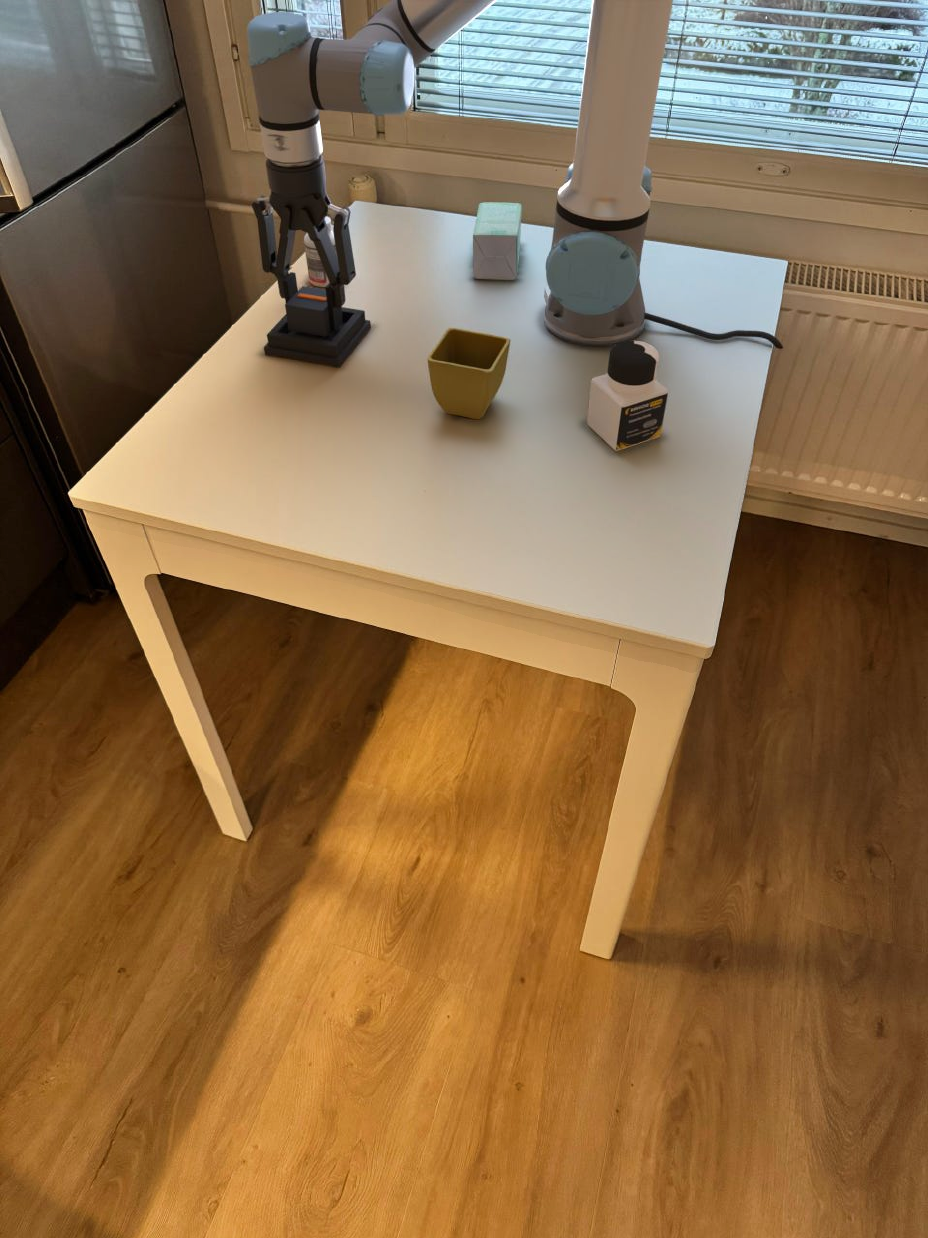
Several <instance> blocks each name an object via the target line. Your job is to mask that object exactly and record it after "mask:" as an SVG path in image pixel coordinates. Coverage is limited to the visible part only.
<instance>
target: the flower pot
mask: <svg viewBox="0 0 928 1238" xmlns="http://www.w3.org/2000/svg"><path fill="white" fill-rule="evenodd" d="M510 347H511V338H509V337H506V336H500V335H496V334H490V333H485V332H480V331H474V330H473V331H472V330H468V329H463V328H458V327H457V328H456V327H448V328H446V330H445V332H444V333H443V335H442V336H441V338H440V339H439V340H438V341H437V344H436V345H435V346H434V348H433V349H432V350H431V352H430V353H429V354H428V356H427V358H426V361H427V367H428V374H429V379H430V386H431V390H432V393H433V396H434V399H435V400H436V402H437V404H438V405H439V407H440V408H441V409H442V410H443V411H444V412H445V413H446V414H449V415H454V416H460V417H465V418H468V419H475V420H481V419H483V417H484V415H485V414H486V413H487V410H488V409H489V407H490V405H491V403H492V402H493V400H494V398H495V396H496V395H497V393H498V391H499V390H500V387H501V385H502V383H503V380H504V378H505V374H506V369H507V363H508V357H509V353H510V352H509V351H510Z"/></svg>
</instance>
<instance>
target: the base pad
mask: <svg viewBox="0 0 928 1238" xmlns="http://www.w3.org/2000/svg"><path fill="white" fill-rule="evenodd" d="M342 321H343V322H342V323H341V324H340V325H339V327H338V328H337V329H336V330H331V331H330V333H329V334H328V335H327V336H326V337H325V336H320V335H314V334H308V333H303V332H297V331H291V330H289V329H288V322H287V315H286V313H285V314H284V315H283V317H281V318H280V319H279V321H278V322H277V323H276V324H275V325H274V326H273V327H272V328H271V329H270V330H269V331H268V333H266V339H267V343H266V344H265V345H264V346H263V351H264V355H267V356H273V357H278V358H283V359H289V360H294V361H300V362H305V363H310V364H311V363H312V364H317V365H323V366H329V367H334V368H340V367H342V365H343V364H344V362H345V361H346V360H347V359H348V357H350V355H351V354H352V353H353V351H354V350H355V348H356V347H357V346H358V345H359V344H360V342H361V341H362V340H363V338H364V337H365V336H366V334H368V332H369V331H370V330H371V328H372V325H371V320H369V319H366V311H365V310H363V309H356V308H351V307H345V306H342Z"/></svg>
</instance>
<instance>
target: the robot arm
mask: <svg viewBox="0 0 928 1238" xmlns="http://www.w3.org/2000/svg"><path fill="white" fill-rule="evenodd" d="M497 1H498V0H390V1H389V2H388V3H387V4H386V5H384V6H382V7H380V8H379V9H377V11H375V13H373V14H372V16H370V18H369V19H367V20H368V21H367V22H366V23H365V25H363V26H362V27H361V28H360V29H359V30H358V31H357V32H356V33H355V35H353V36H352V37H351V38H349V39H341V38H338V39H337V38H325V37H324V38H323V37H317V36H313V35H312V34H313V33H312V30H311V28H310V23H309V20H308V19H307V17H306V16H304V15H303V14H299V13H293V12H290V11H276V12H275V11H274V12H267V13H262V14H259V15H257V16H255V17H254V18H253V19H251V20H250V21H249V23H248V24H247V27H246V37H247V38H246V39H247V45H248V46H247V49H248V56H249V57H248V58H249V61H248V65H249V67H250V71H251V77H252V84H253V89H254V95H255V101H256V108H257V112H258V121H259V129H260V136H261V141H262V148H263V154H264V156H265V158H267V159H266V160H265V170H266V175H267V183H268V187H269V190H270V194H269V196H266V195H264V194H263V195H262V194H261V195H260V196H259V197H258V198H257V199H255V200H254V201H253V202H252V203H251V208H252V210H253V213H254V215H255V217H256V221H257V230H258V239H259V240H258V241H259V247H260V257H261V266H262V270H263V271H264V272H265V273H267V274H269V273H271V274H273V275H274V276H275V278H276V280H277V287H278V293H279V296H280V299H284V302H285V304H286V303H287V302H288V301H289V300H290V299H291V298H292V297H293V296H294V295H295V294H296V293H297V291H298V290H299V288H298V281H297V275H296V272H293V271H290V270H291V269H292V268H293V266H291V263H292V258H293V252H294V251H293V250H294V245H295V238H296V232H297V231H301V232H304V233H306V234H307V233H308V235H309V238H310V240H311V241H313V242H314V245H315V247H316V250H317V252H318V255H319V257H320V260H321V262H322V265H323V267H324V270H325V272H326V275H327V277H328V280H329V282H330V283H329V284H328V285H327V286H326V287H324V288H325V290H326V297H327V305H328V312H329V320H330V329H331V330H336V329H337V328H338V327H339V325H340V324H341V323H342V322H343V321H342V312H341V307H344V305H345V303H346V292H345V291H346V290H345V286H348V285H349V284H350V283H351V282H352V281H353V280H354V278H356V276H357V272H356V265H355V257H354V253H353V245H352V238H351V233H350V226H349V223H350V219H351V209H350V208H349V207H348V206H343V207H342V208H341V207H339V206H336V205H334V204H332V202H331V199H330V198H329V196H328V193H327V177H326V167H325V159H324V156H322V154H323V151H324V146H323V139H322V132H321V124H320V111H330V112H341V113H343V112H344V113H355V114H367V115H373V116H377V117H383V116H390V115H391V116H392V115H393V116H396V115H403V114H405V113H407V112H408V110H409V109H410V108H411V107H410V106H411V104H412V98H413V95H414V88H415V69H416V68H417V67H418V66H419V65H421V63H423V62H424V61H425V60H426V59H427V58H429V57H430V56H431V55H433V53H435V51H437V49H439V48H440V47H441V46H443V45H444V44H445V43H447V42H448V41H449V40H450V39H451V38H452V37H454V36H455V35H456V34H458V33H459V32H460V31H461V30H462V29H464V28H465V27H466V26H467V25H469V24H470V23H471V22H472V21H473V20H475V19H476V18H477V17H479V16H480V15H481V14H482V13H483V12H485V11H486V10H487V9H488V8H489V7H491V6H492V5H493V4H494V3H496V2H497ZM673 3H674V0H592V1H591V9H590V19H589V27H588V34H587V35H588V36H587V45H586V52H585V61H584V69H583V78H582V87H581V95H580V103H579V112H578V119H577V128H576V129H577V130H576V137H575V144H574V145H575V146H574V153H573V162H572V163H571V164H570V165H569V167H568V168H567V171H566V178H565V181H564V182H563V183H564V185H562V186H561V187H560V188H559V189H558V191H557V196H556V203H555V214H554V223H553V232H552V239H551V246H550V247H551V248H550V250H549V252H548V255H547V257H546V260H545V261H546V262H545V278H546V284H547V286H548V289H549V291H550V293H549V296H548V293H547V290H546V289H544V295H543V296H544V297H543V298H544V301H545V307H544V316H543V317H544V318H543V320H544V321H543V322H544V324H545V326H546V328H547V329H548V330H549V331H550V332H551V333H552V334H553V335H554V336H556V337H558V338H559V339H562V340H564V341H566V342H569V343H572V344H575V345H581V346H589V347H609V346H615V345H616V344H618V343H620V342H623V341H632V340H633V339H635V338H636V337H638V336H639V335H640V334H641V333H642V332H643V330H644V327H645V322H646V320H647V321H650V322H653V323H657V324H660V325H663V326H667V327H670V328H673V329H676V330H679V331H681V332H686V333H688V334H692V335H695V336H698V337H701V338H704V339H707V340H711V341H724V340H728V339H732V338H737V337H740V338H742V337H743V338H761V339H764V340H767V341H769V342H770V344H772V345H773V346H774V347H775V348H776V349H778V350H783V349H784V346H783V344H782V342H781V341H780V340H779V339H778V338H777V337H776V336H774V335H773V334H771V333H769V332H765V331H761V330H746V329H745V330H744V329H742V330H741V329H739V330H738V329H737V330H730V331H727V332H724V333H723V332H722V333H714V332H708V331H706V330H702V329H699V328H697V327H693V326H690V325H686V324H683V323H681V322H677V321H674V320H671V319H668V318H665V317H662V316H658V315H654V314H651V313H649V312H646V307H645V301H644V295H643V290H642V286H641V285H642V284H641V279H640V276H641V268H640V267H641V262H642V255H643V248H644V242H645V237H646V230H647V226H648V219H649V214H650V210H651V209H650V208H651V198H650V197H651V193H652V191H653V187H652V180H653V179H652V177H653V175H652V172H651V170H650V169H649V168H648V166H646V160H647V155H648V150H649V149H648V148H649V143H650V137H651V131H652V127H653V126H652V125H653V120H654V115H655V114H654V113H655V108H656V104H657V103H656V101H657V96H658V91H659V85H660V79H661V73H662V68H663V61H664V55H665V50H666V49H665V48H666V44H667V38H668V32H669V26H670V21H671V17H672V16H671V14H672V10H673ZM319 110H320V111H319ZM274 211H275V213H276V214H277V215H278V217H279V218H280V224H279V231H278V233H279V241H278V246H277V239H276V230H275V229H276V228H275V218H274V213H273V212H274ZM327 216H328V217H329V218H330V219H331V224H332V231H333V233H334V240H335V246H336V252H337V255H336V253H335V250H334V247H333V245H332V242H331V240H330V237H329V234H328V226H327V224H326V221H325V217H327Z"/></svg>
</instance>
